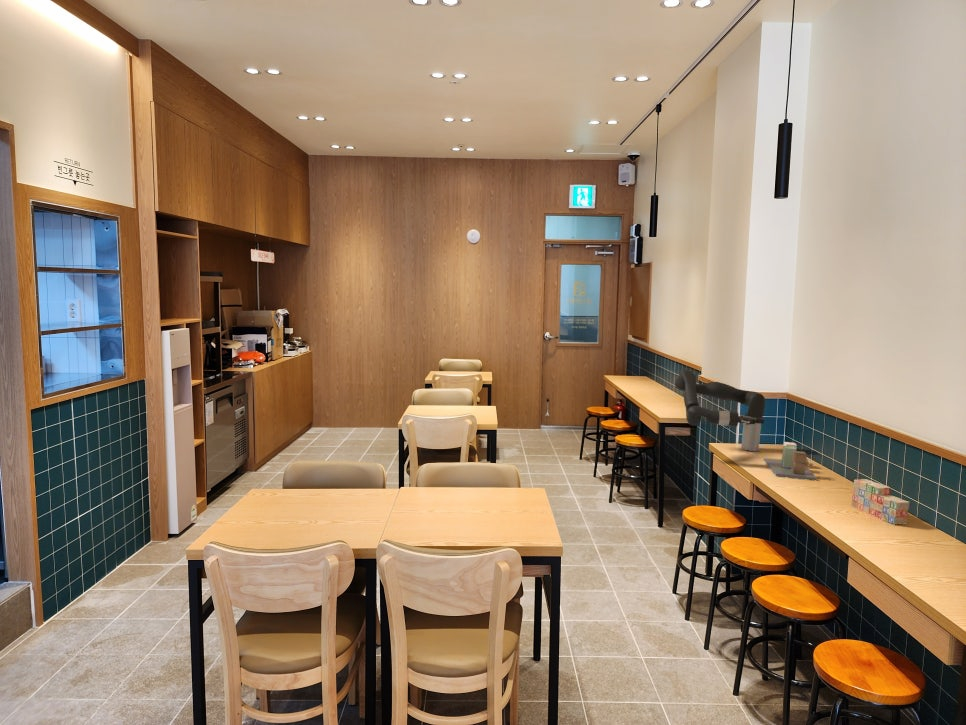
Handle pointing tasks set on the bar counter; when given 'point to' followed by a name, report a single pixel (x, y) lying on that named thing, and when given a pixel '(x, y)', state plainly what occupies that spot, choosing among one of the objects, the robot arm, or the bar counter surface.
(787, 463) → the pale green block
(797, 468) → the brown block
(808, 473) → the rail board
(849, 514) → the bar counter surface
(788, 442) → the cream block
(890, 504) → the stack of blocks
